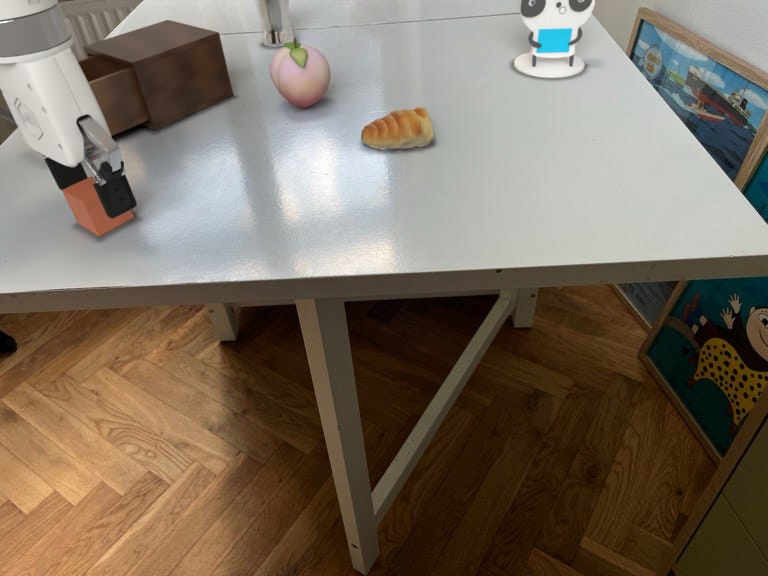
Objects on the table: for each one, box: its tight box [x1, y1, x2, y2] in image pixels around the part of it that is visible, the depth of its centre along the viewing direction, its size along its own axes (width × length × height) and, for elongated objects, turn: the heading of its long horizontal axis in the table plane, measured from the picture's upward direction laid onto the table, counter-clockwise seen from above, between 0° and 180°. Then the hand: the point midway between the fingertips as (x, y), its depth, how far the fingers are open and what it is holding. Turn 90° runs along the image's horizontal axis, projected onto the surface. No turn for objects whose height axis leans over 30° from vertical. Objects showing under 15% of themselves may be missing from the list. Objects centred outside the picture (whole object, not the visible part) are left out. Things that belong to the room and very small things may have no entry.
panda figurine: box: [513, 0, 596, 79], centre depth 87 cm, size 12×11×15 cm
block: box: [61, 175, 135, 237], centre depth 61 cm, size 4×4×4 cm
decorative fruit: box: [269, 37, 331, 109], centre depth 80 cm, size 9×8×10 cm
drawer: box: [0, 55, 149, 152], centre depth 76 cm, size 18×11×8 cm, turn 142°
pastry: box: [360, 106, 435, 151], centre depth 73 cm, size 9×7×4 cm
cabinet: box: [82, 19, 234, 131], centre depth 83 cm, size 15×13×10 cm
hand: (98, 198), depth 60 cm, fingers open, 9 cm apart
